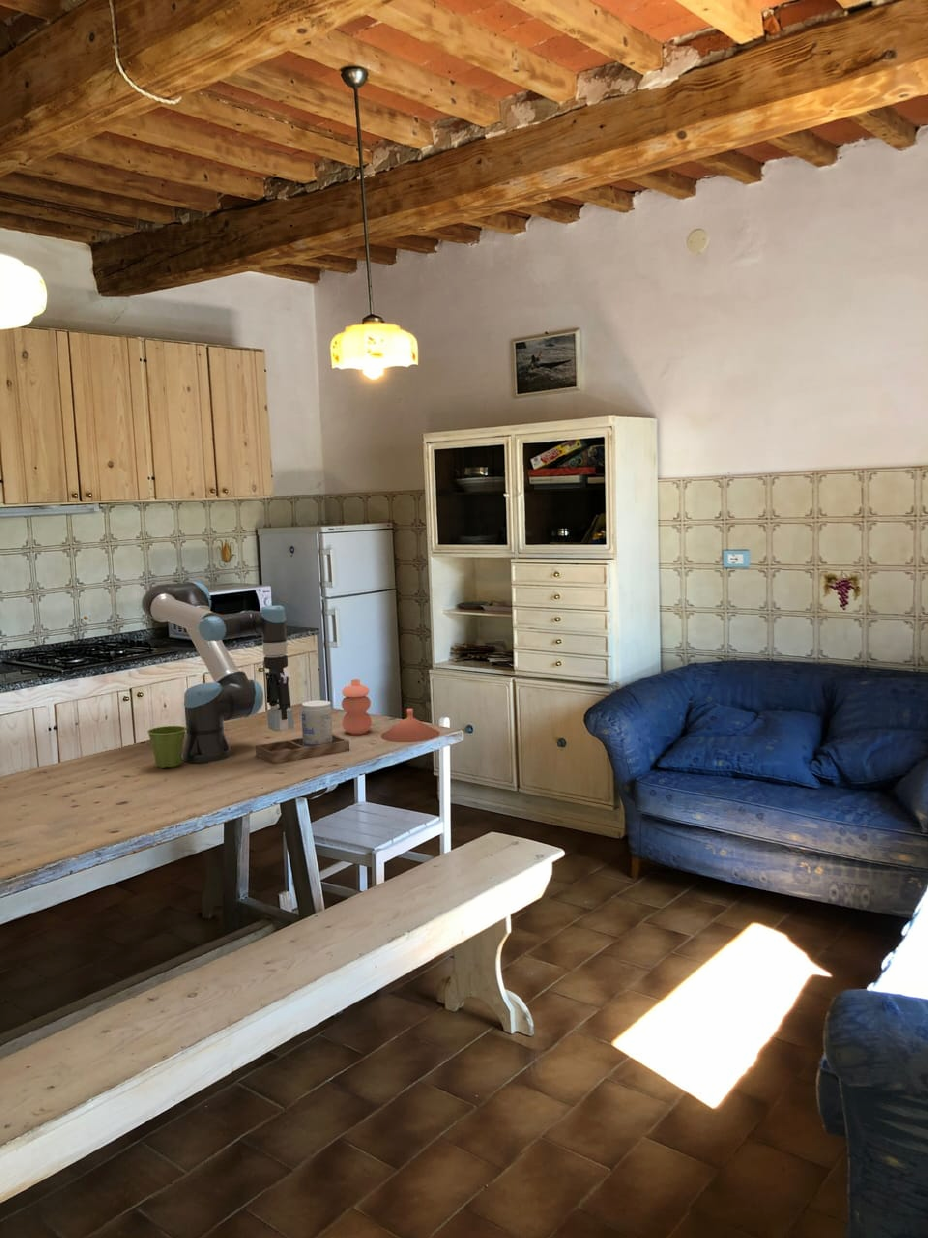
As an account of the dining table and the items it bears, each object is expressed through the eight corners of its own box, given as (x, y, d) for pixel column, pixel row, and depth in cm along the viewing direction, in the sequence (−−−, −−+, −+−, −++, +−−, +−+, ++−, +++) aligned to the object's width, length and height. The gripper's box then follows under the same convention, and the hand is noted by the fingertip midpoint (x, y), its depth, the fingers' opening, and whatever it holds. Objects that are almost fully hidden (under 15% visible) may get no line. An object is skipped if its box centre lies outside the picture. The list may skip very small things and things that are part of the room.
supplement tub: (297, 749, 322) (294, 705, 320) (315, 743, 330) (312, 699, 328) (321, 752, 317) (318, 707, 315) (339, 745, 325) (336, 701, 324)
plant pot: (177, 770, 304) (175, 734, 303) (141, 770, 306) (139, 734, 305) (195, 760, 316) (193, 725, 314) (161, 760, 318) (158, 725, 317)
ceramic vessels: (449, 729, 347) (447, 676, 345) (430, 744, 327) (427, 687, 325) (356, 726, 358) (353, 674, 355) (331, 740, 338) (329, 685, 335)
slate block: (293, 728, 315) (292, 709, 314) (275, 731, 312) (274, 713, 311) (286, 725, 320) (284, 707, 319) (268, 728, 317) (267, 710, 316)
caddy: (273, 764, 308) (272, 753, 307) (256, 755, 319) (255, 745, 319) (349, 750, 322) (348, 740, 321) (330, 742, 333) (329, 733, 333)
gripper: (298, 657, 307) (303, 731, 309) (275, 650, 323) (279, 721, 325) (275, 659, 303) (280, 734, 305) (253, 653, 319) (257, 724, 321)
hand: (279, 727), depth 315 cm, fingers closed on slate block, 6 cm apart
